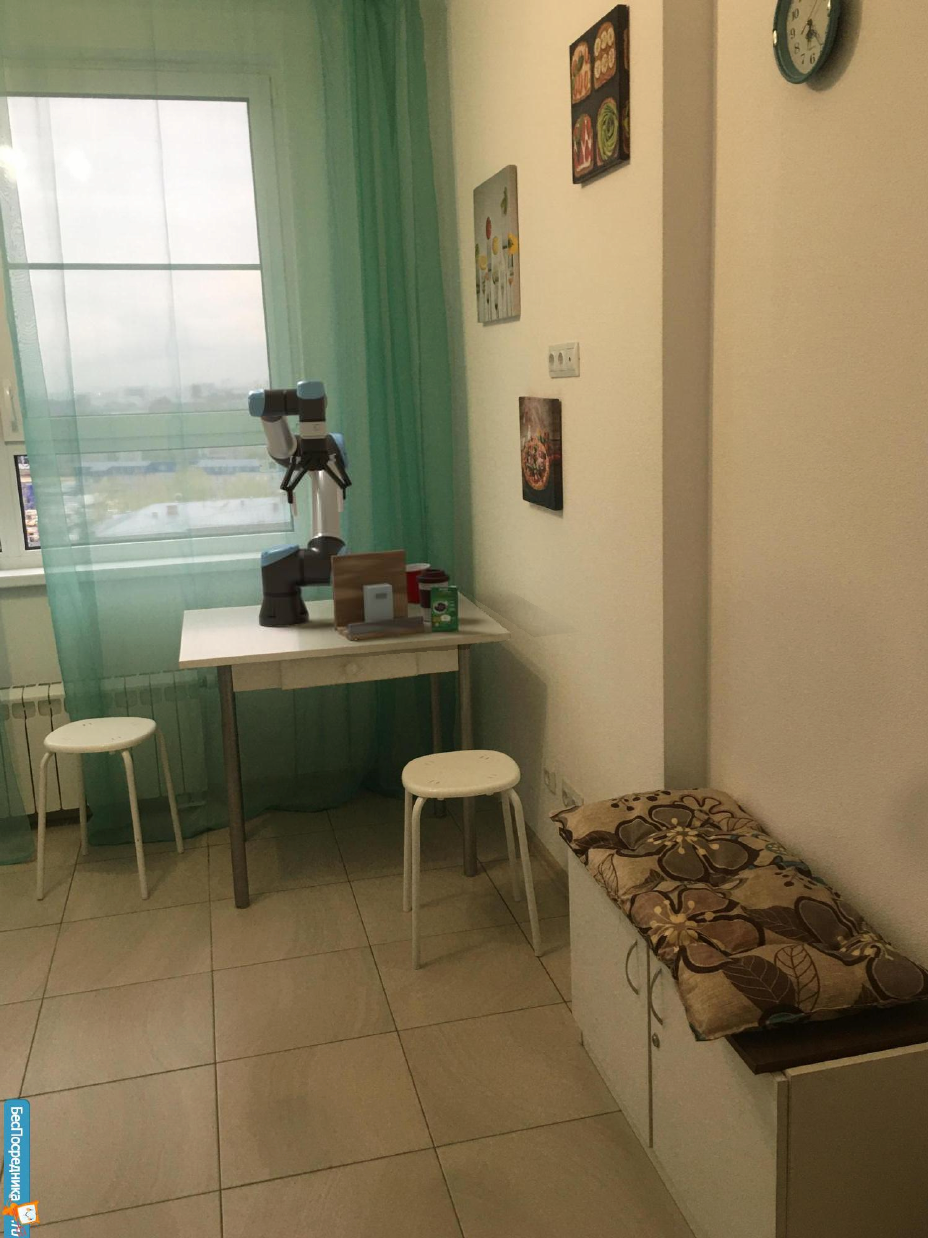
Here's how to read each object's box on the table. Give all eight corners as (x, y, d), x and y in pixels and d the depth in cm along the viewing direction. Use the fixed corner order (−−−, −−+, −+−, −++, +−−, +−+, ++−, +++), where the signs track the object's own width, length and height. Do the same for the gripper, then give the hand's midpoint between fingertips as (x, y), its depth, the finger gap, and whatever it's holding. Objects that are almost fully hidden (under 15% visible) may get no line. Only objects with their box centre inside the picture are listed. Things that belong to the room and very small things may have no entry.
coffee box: (459, 629, 315) (458, 584, 313) (459, 631, 312) (457, 586, 310) (431, 629, 316) (430, 585, 313) (431, 632, 313) (429, 587, 310)
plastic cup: (395, 600, 362) (393, 564, 360) (426, 597, 365) (425, 562, 363) (403, 606, 352) (401, 569, 349) (435, 603, 355) (434, 566, 353)
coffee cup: (447, 623, 324) (445, 573, 321) (414, 622, 326) (412, 573, 323) (454, 616, 333) (452, 567, 330) (422, 616, 335) (420, 567, 332)
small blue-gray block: (365, 626, 316) (363, 585, 313) (388, 623, 318) (386, 583, 316) (371, 630, 310) (369, 588, 308) (395, 627, 313) (393, 586, 311)
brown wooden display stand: (335, 630, 318) (330, 555, 314) (405, 622, 327) (402, 549, 322) (350, 640, 305) (346, 562, 300) (423, 631, 313) (421, 555, 309)
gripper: (273, 439, 296) (278, 518, 300) (360, 435, 306) (364, 511, 310) (266, 439, 302) (271, 515, 307) (351, 434, 312) (355, 509, 317)
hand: (317, 513), depth 309 cm, fingers open, 13 cm apart
